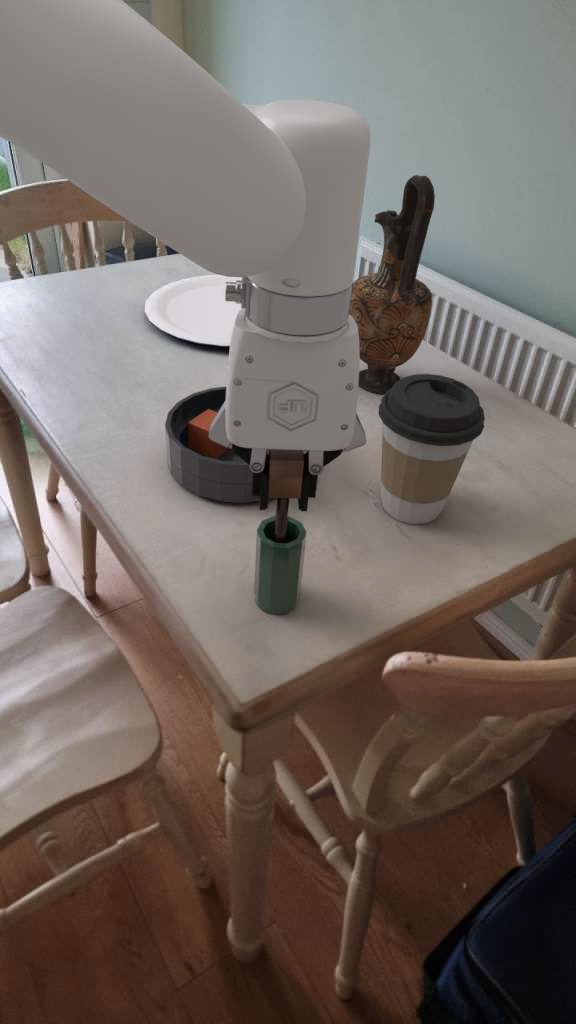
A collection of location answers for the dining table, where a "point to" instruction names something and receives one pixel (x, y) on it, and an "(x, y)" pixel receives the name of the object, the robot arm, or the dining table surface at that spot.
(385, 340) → the vase
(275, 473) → the wooden cube mallet
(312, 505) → the dining table surface
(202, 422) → the terracotta block
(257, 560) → the holder
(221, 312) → the plate
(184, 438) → the bowl
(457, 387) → the coffee cup
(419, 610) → the dining table surface
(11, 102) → the robot arm
